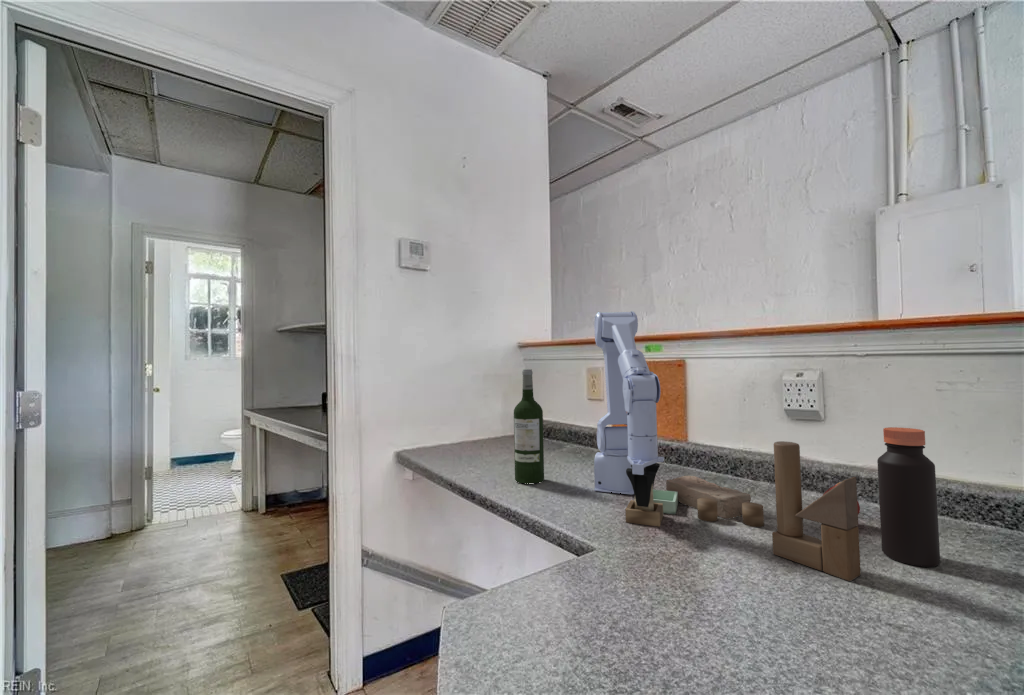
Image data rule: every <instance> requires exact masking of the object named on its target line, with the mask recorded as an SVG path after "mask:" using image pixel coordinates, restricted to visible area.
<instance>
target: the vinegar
mask: <svg viewBox="0 0 1024 695" xmlns="http://www.w3.org/2000/svg"><path fill="white" fill-rule="evenodd" d="M883 442H884V446H886V451H885V452H884V453H883V454H881V456H879V457H877V461H876V462H877V477H878V478H877V480H878V500H879V516H880V517H879V518H880V521H879V522H880V535H881V537H880V541H881V551H882V553H883V554H884V555H885V556H886V557H888V558H889V559H891V560H893V561H895V562H899V563H902V564H905V565H910V566H916V567H924V568H931V567H933V568H934V567H937V566H938V565H940V563H941V553H940V551H941V549H940V533H939V530H940V529H939V515H938V514H939V512H938V498H937V477H936V476H937V475H936V465H935V463H934V462H933V461H932V460H931V459H929V458H928V457H927V456H926V455H925V454H924V449H925V448H926V431H925V430H923V429H920V428H911V427H897V426H895V427H894V426H893V427H884V428H883Z"/></svg>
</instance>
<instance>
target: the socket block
mask: <svg viewBox="0 0 1024 695" xmlns="http://www.w3.org/2000/svg"><path fill="white" fill-rule="evenodd" d="M624 511H625V512H624V513H625V523H629V524H636V525H644V526H652V527H659V528H660V527H661V524H662V521H663V518H664V513H663V503H654V511H646V510H638V509H635V499H631V500H630V501H629V502H628V504H627V506H626V508H625V510H624Z"/></svg>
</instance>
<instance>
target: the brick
mask: <svg viewBox="0 0 1024 695" xmlns="http://www.w3.org/2000/svg"><path fill="white" fill-rule="evenodd" d="M665 488H666V491H676V492H678V501H679V502H680V504H683V505H686V506H687V505H688V507H690V508H694V509H697V510H698V505H697V499H699V498H710V499H714V500H716V501H717V515H718V518H722V519H725V520H729V518H730V519H734V518H733V517H735V518H738V517H742V516H741V515H742V503H745V502H751V500H752V496H751V494H749V493H747V492H742V491H740V490H738V489H733V488H731V487H725V486H723V487H722V486H720V485H718V484H716V483H714V482H709V481H708V480H706V479H703V478H700V477H698V476H695V475H684V476H680V477H676V478H672V479H666V481H665ZM679 502H678V503H679ZM737 516H738V517H737Z"/></svg>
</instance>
